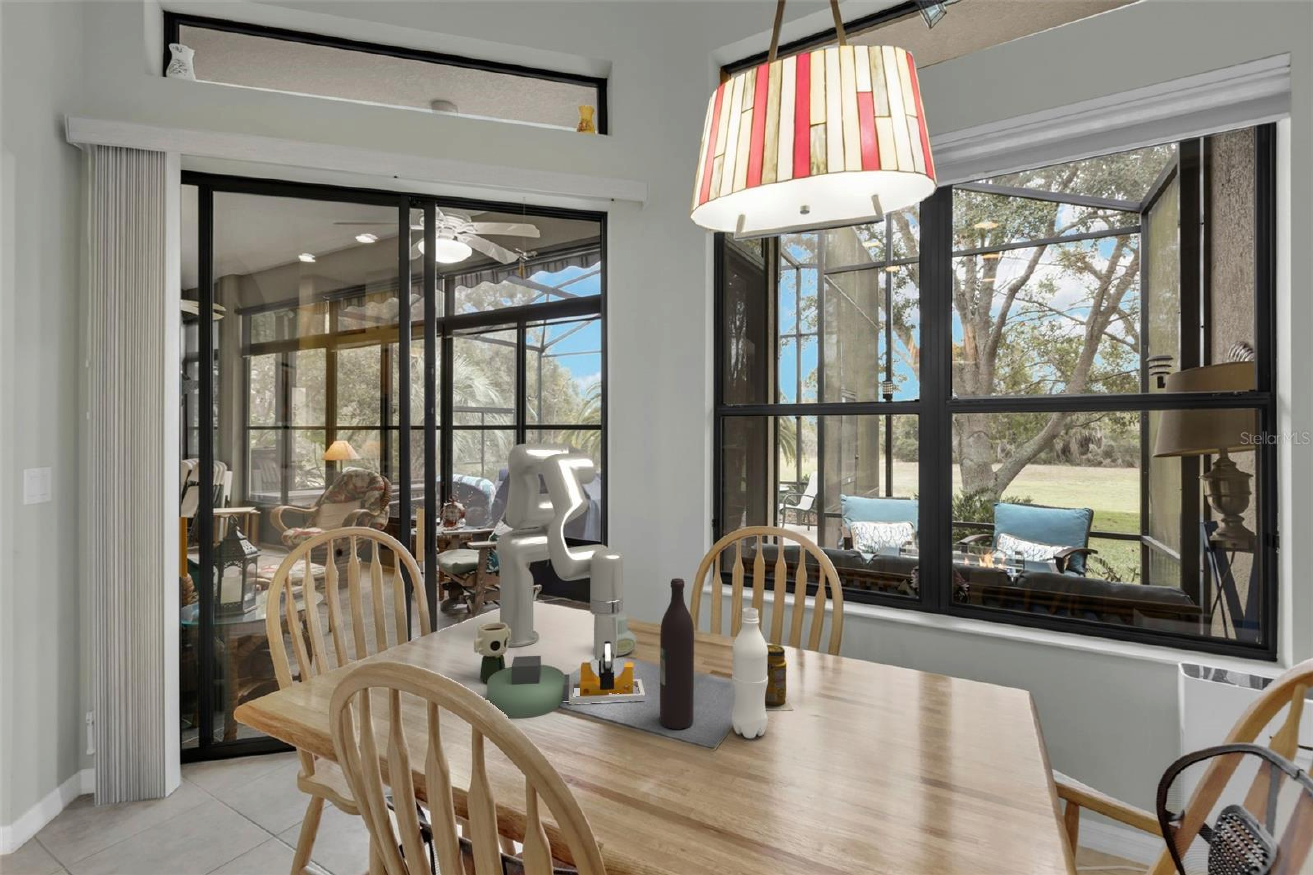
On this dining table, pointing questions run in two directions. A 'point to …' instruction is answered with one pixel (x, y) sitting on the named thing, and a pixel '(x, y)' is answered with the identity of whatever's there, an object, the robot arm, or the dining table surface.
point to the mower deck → (540, 689)
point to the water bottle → (750, 677)
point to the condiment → (776, 680)
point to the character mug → (492, 647)
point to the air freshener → (624, 637)
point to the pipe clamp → (592, 682)
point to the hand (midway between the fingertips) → (606, 682)
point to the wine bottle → (677, 662)
